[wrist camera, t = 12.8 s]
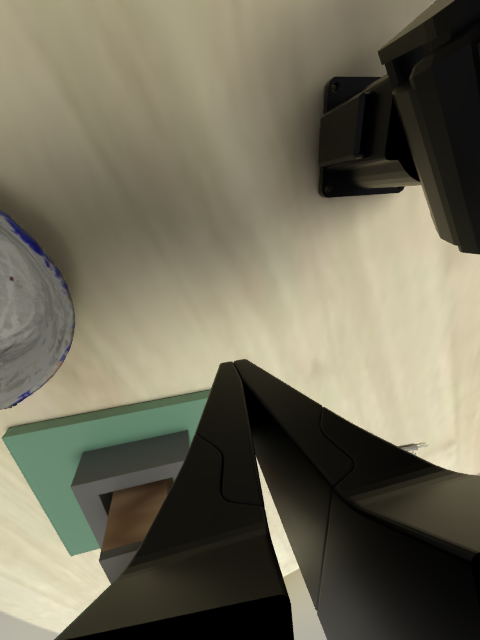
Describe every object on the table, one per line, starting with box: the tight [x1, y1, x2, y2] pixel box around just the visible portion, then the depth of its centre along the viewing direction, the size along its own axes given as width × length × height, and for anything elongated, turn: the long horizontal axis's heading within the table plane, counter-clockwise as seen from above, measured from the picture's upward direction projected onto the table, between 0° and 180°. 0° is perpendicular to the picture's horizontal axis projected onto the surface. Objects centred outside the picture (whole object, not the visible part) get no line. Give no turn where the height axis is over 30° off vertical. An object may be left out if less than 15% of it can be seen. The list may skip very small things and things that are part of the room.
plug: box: [99, 477, 174, 584], centre depth 22 cm, size 4×6×7 cm
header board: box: [2, 390, 210, 556], centre depth 24 cm, size 18×16×4 cm
